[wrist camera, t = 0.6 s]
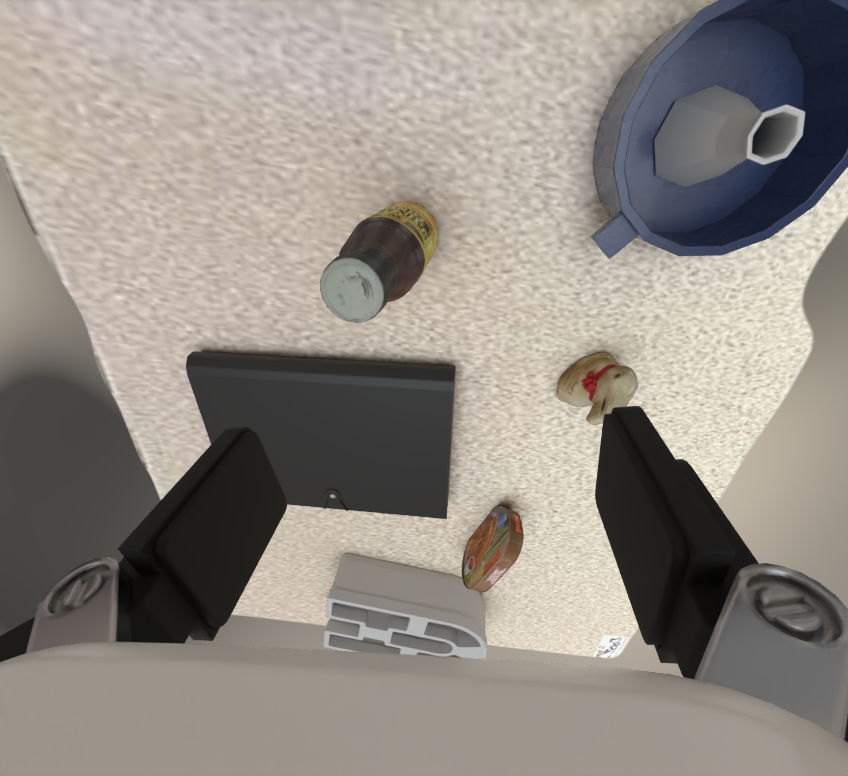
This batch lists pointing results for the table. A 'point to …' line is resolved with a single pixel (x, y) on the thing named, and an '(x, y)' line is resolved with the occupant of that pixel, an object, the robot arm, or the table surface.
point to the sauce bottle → (379, 261)
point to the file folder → (338, 426)
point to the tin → (492, 549)
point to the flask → (722, 135)
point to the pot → (747, 76)
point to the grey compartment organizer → (403, 611)
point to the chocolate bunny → (597, 385)
